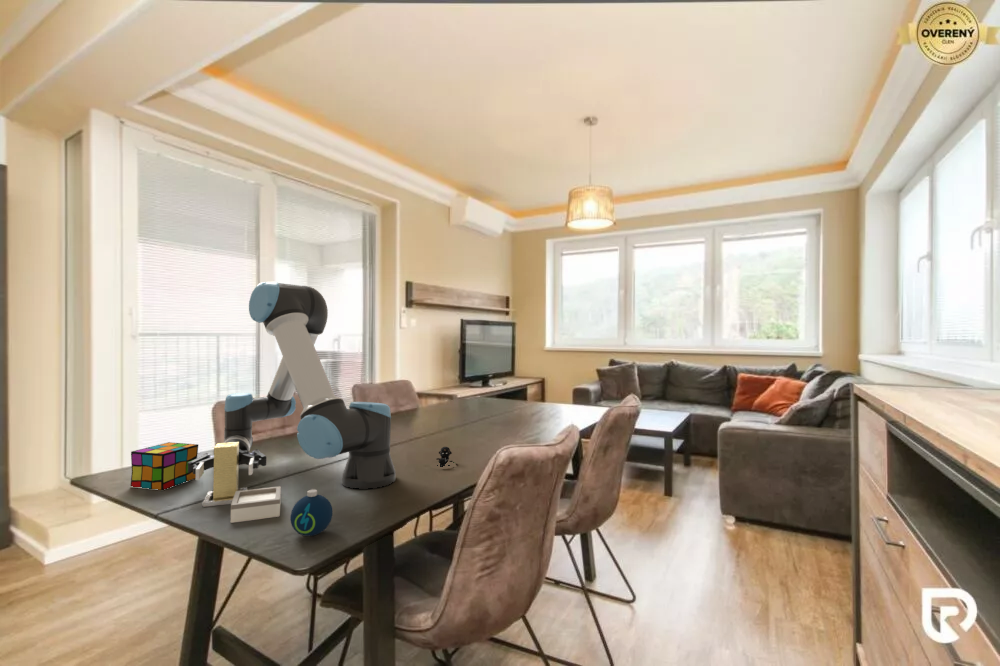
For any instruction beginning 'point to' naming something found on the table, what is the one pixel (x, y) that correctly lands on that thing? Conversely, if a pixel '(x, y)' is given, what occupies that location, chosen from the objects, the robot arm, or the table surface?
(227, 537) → the table surface
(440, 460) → the toy figurine
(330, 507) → the christmas ornament
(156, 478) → the toy
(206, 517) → the table surface
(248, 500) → the white square tray
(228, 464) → the block
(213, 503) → the jamb socket
